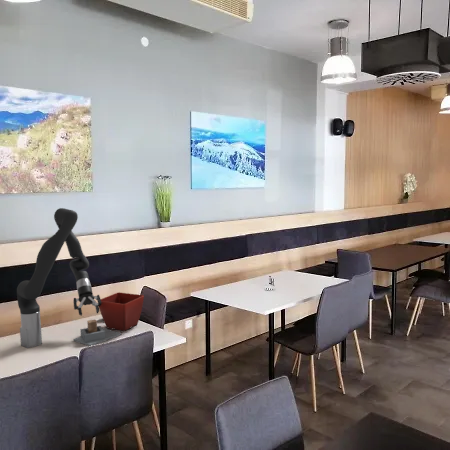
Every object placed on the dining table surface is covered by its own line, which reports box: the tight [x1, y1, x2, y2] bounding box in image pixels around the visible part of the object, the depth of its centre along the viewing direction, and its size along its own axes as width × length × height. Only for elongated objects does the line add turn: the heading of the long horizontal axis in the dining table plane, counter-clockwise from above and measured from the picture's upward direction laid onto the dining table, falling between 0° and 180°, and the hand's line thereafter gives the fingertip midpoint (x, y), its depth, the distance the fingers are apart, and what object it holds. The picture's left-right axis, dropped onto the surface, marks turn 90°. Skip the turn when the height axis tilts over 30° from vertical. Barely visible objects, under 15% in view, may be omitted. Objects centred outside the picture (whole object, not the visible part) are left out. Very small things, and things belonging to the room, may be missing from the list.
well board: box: [73, 325, 122, 347], centre depth 240 cm, size 20×14×5 cm
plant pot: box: [99, 291, 145, 332], centre depth 257 cm, size 19×19×17 cm
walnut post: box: [86, 319, 98, 333], centre depth 238 cm, size 4×4×9 cm
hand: (89, 313), depth 241 cm, fingers open, 8 cm apart
